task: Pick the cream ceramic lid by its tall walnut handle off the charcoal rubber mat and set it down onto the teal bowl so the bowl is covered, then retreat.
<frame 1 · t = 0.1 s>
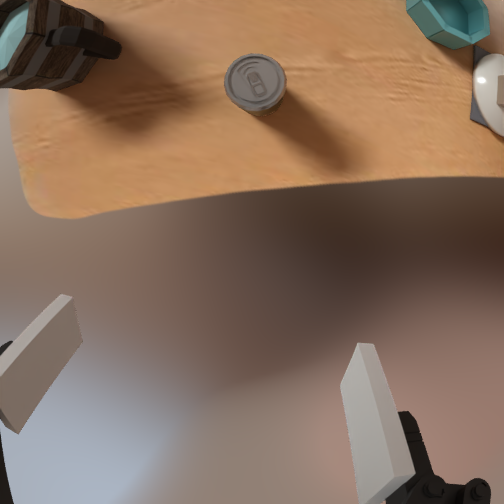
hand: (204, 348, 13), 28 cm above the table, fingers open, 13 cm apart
mat: (500, 95, 29), on the table
mug: (84, 50, 31), on the table
bowl: (440, 12, 25), on the table
lid: (502, 95, 28), resting on mat
beer can: (260, 95, 34), on the table
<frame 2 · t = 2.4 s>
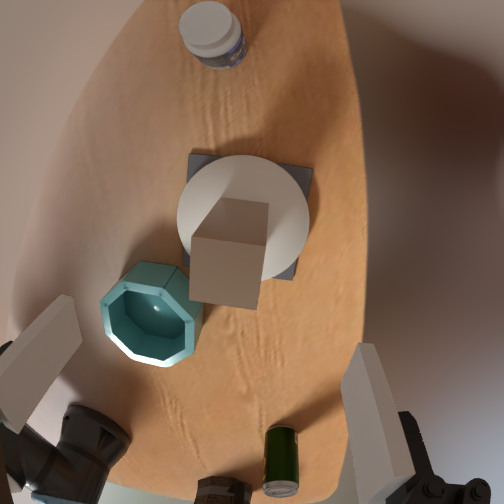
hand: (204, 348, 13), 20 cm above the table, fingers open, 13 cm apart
mat: (243, 218, 31), on the table
mug: (229, 482, 55), on the table
bowl: (159, 304, 36), on the table
lid: (242, 219, 31), resting on mat
pill bottle: (223, 49, 25), on the table
beer can: (281, 430, 45), on the table
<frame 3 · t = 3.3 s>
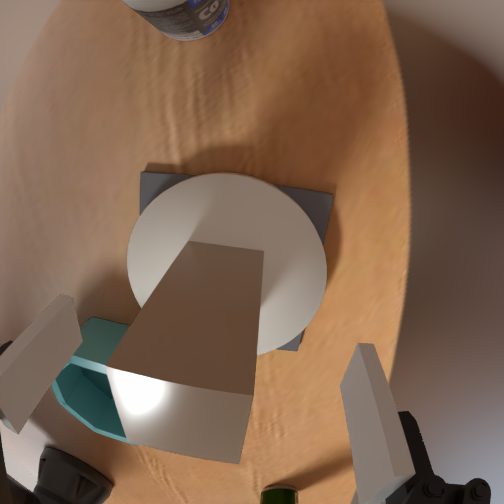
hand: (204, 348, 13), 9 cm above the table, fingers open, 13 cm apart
mat: (226, 268, 21), on the table
bowl: (122, 368, 25), on the table
lid: (225, 271, 20), resting on mat
pill bottle: (193, 11, 15), on the table
beer can: (279, 489, 34), on the table
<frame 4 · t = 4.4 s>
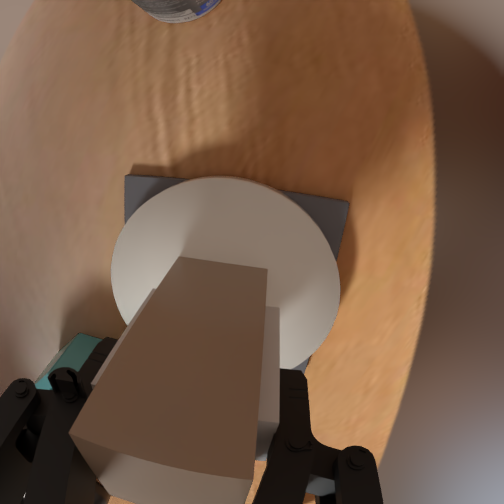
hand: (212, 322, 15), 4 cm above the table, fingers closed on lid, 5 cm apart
mat: (224, 285, 18), on the table
bowl: (114, 386, 23), on the table
lid: (222, 289, 18), point 1 cm above the table, touching gripper, mat
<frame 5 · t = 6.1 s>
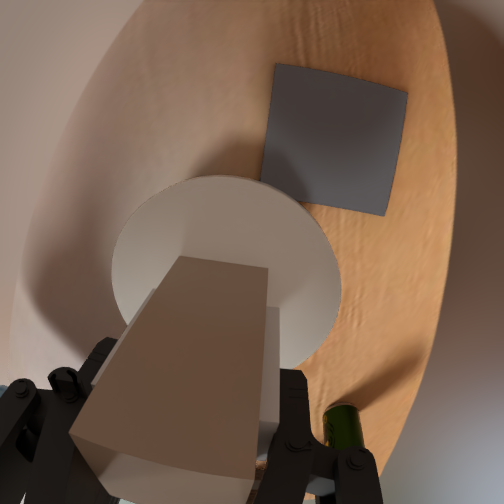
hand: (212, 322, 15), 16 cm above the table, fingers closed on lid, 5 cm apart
mat: (334, 139, 25), on the table
mug: (265, 475, 50), on the table
lid: (223, 289, 18), point 12 cm above the table, touching gripper
beer can: (340, 410, 39), on the table
when the fingers open (10 cm above the table, at t = 7.9 s): lid drops 1 cm, resting on bowl.
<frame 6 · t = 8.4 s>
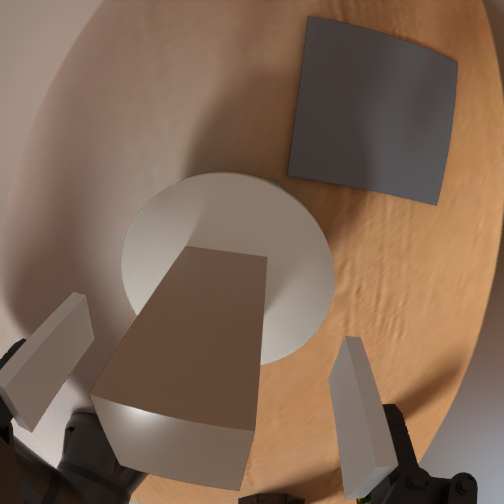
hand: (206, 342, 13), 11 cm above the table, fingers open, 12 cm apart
mat: (380, 109, 19), on the table
mug: (277, 498, 43), on the table
lid: (225, 277, 19), point 5 cm above the table, touching bowl
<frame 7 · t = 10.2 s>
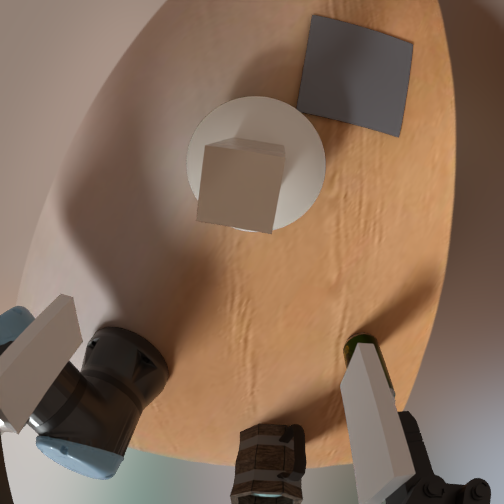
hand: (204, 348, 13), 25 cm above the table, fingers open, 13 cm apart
mat: (357, 73, 28), on the table
mug: (277, 433, 53), on the table
lid: (255, 163, 29), point 5 cm above the table, touching bowl
beer can: (359, 344, 42), on the table
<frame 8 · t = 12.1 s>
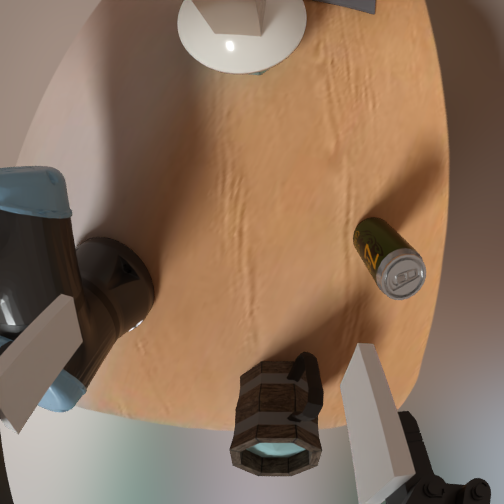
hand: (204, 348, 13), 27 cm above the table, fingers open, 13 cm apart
mug: (284, 375, 48), on the table
lid: (241, 19, 25), point 5 cm above the table, touching bowl
beer can: (370, 235, 38), on the table
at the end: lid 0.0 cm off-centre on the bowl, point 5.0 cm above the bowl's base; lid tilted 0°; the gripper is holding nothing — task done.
